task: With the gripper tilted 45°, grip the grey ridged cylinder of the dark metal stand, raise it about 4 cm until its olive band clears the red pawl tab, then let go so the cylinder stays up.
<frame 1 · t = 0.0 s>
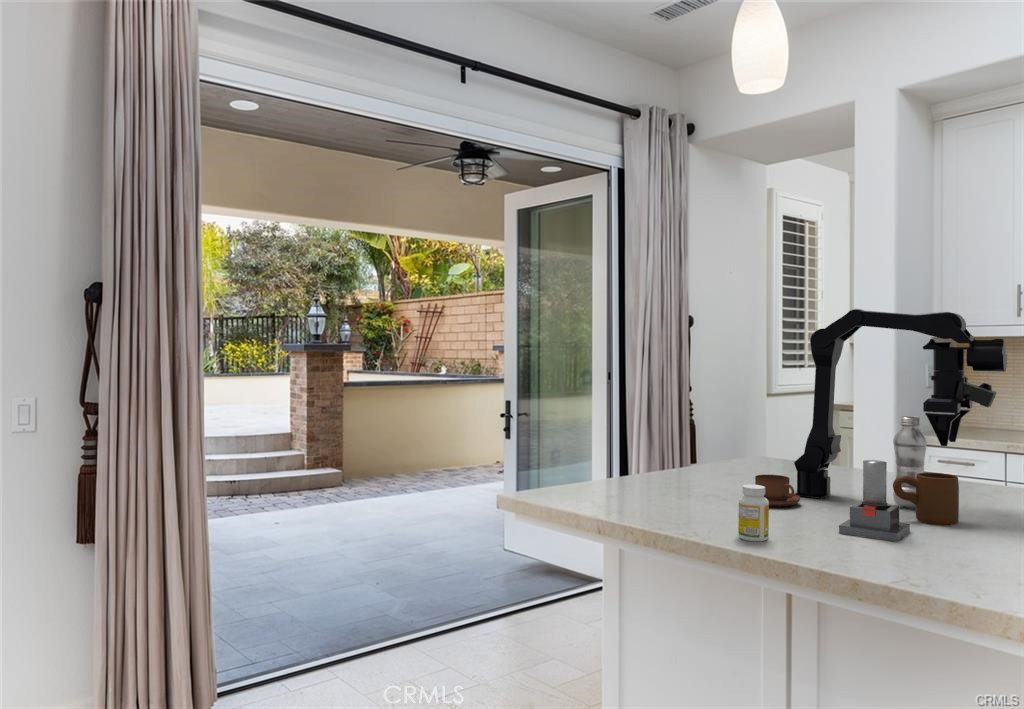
hand: (948, 443, 160), 15 cm above the countertop, tool pointing down, fingers open, 9 cm apart
stand sleeve: (874, 532, 142), on the countertop
plastic bottle: (910, 508, 164), on the countertop
cup and saucer: (772, 505, 169), on the countertop
grey ridged cylinder: (874, 492, 142), point 8 cm above the countertop, slide at 0.0 cm
supplement bottle: (753, 539, 138), on the countertop
mug: (924, 522, 152), on the countertop
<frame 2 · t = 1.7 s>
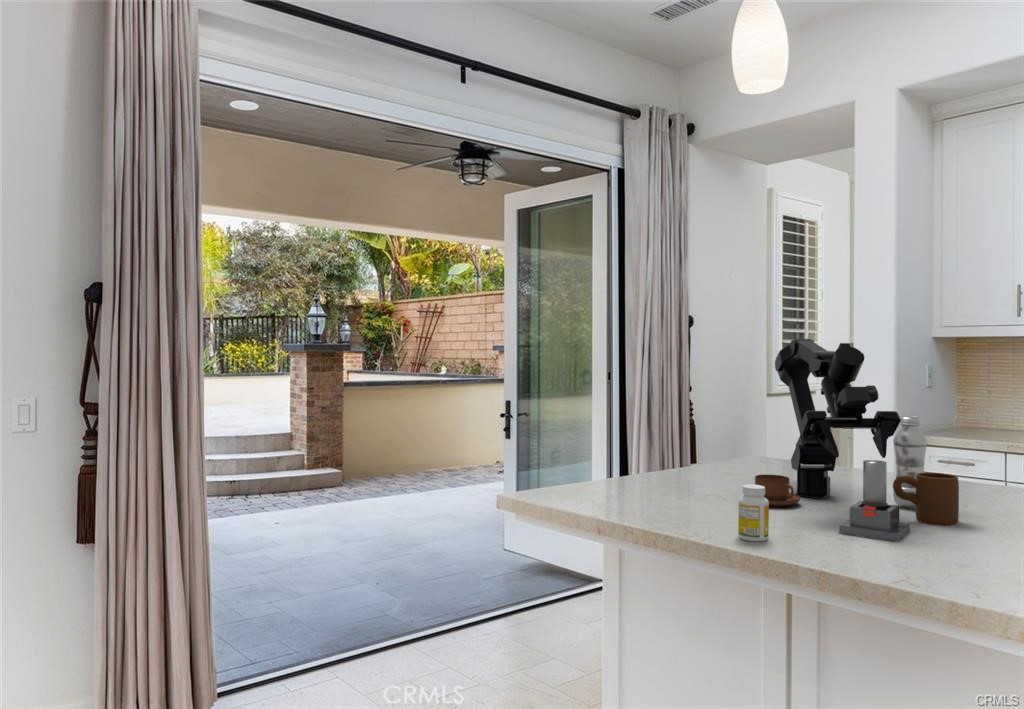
hand: (860, 456, 150), 13 cm above the countertop, tool tilted 45°, fingers open, 9 cm apart
nothing on the countertop moved.
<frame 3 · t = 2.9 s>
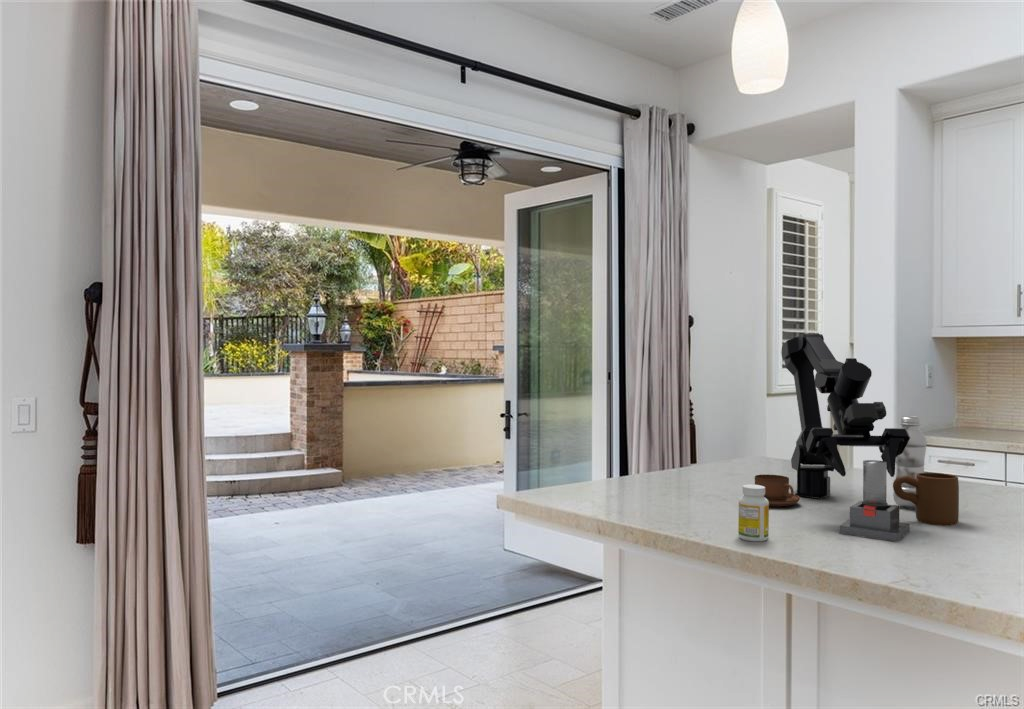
hand: (868, 475, 145), 10 cm above the countertop, tool tilted 45°, fingers open, 9 cm apart
nothing on the countertop moved.
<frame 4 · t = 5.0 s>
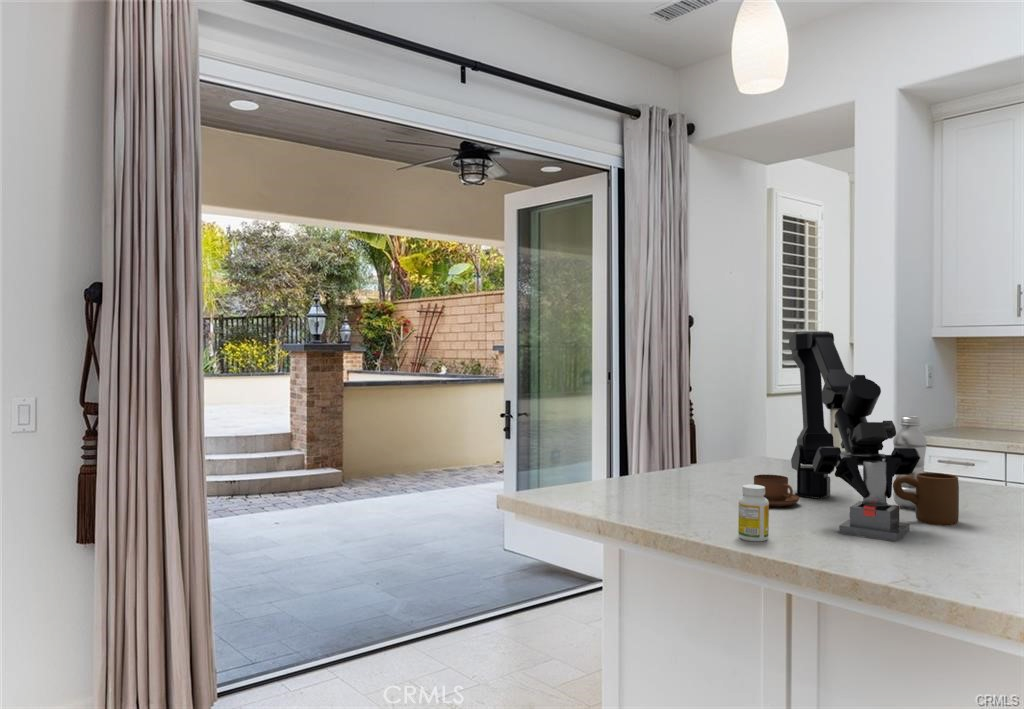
hand: (877, 496, 141), 7 cm above the countertop, tool tilted 45°, fingers closed on grey ridged cylinder, 4 cm apart
grey ridged cylinder: (874, 492, 142), point 8 cm above the countertop, slide at 0.0 cm, touching gripper
everything else where it was.
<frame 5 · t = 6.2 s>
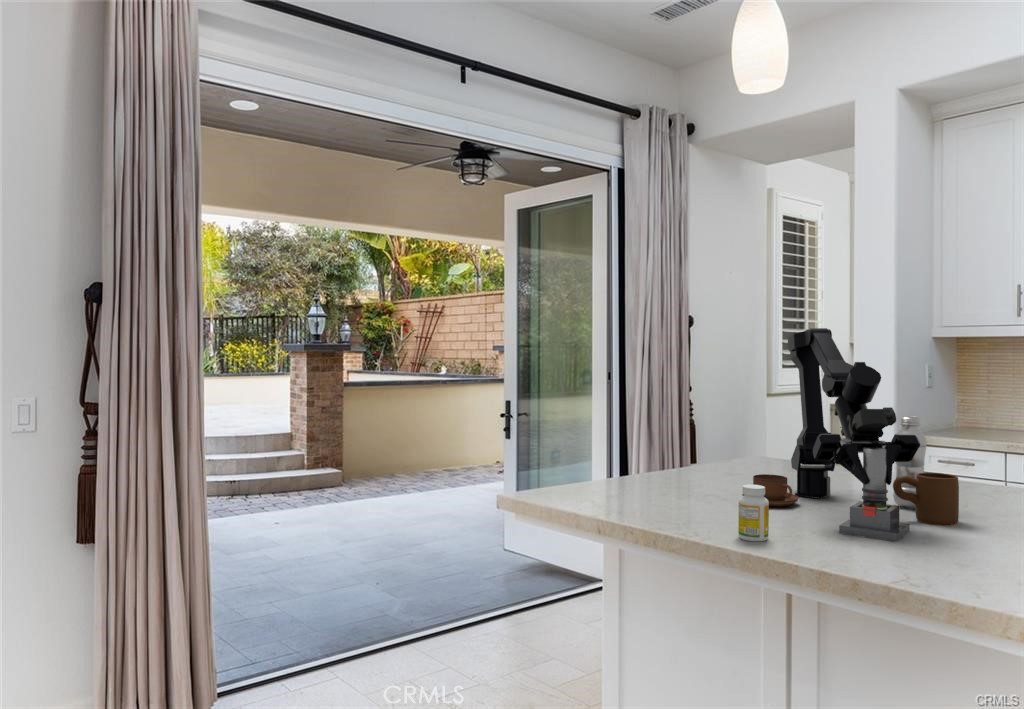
hand: (877, 483, 141), 10 cm above the countertop, tool tilted 45°, fingers closed on grey ridged cylinder, 4 cm apart
grey ridged cylinder: (874, 479, 142), point 10 cm above the countertop, slide at 2.5 cm, touching gripper
everything else where it was.
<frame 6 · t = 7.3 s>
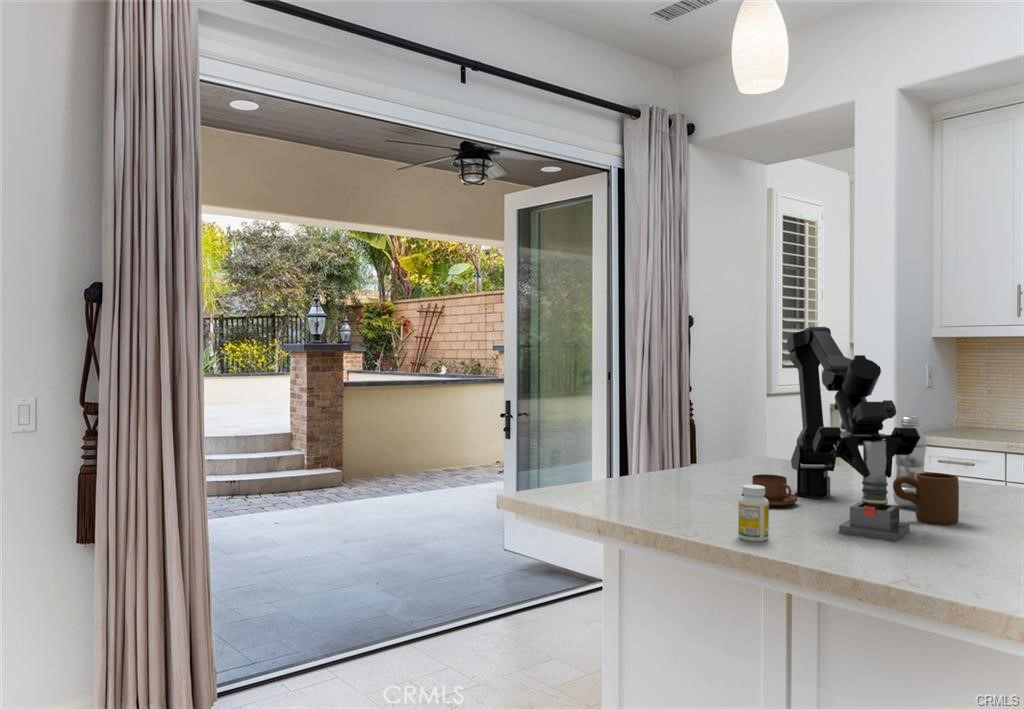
hand: (877, 476, 141), 11 cm above the countertop, tool tilted 45°, fingers closed on grey ridged cylinder, 4 cm apart
grey ridged cylinder: (874, 472, 142), point 11 cm above the countertop, slide at 3.9 cm, touching gripper
everything else where it was.
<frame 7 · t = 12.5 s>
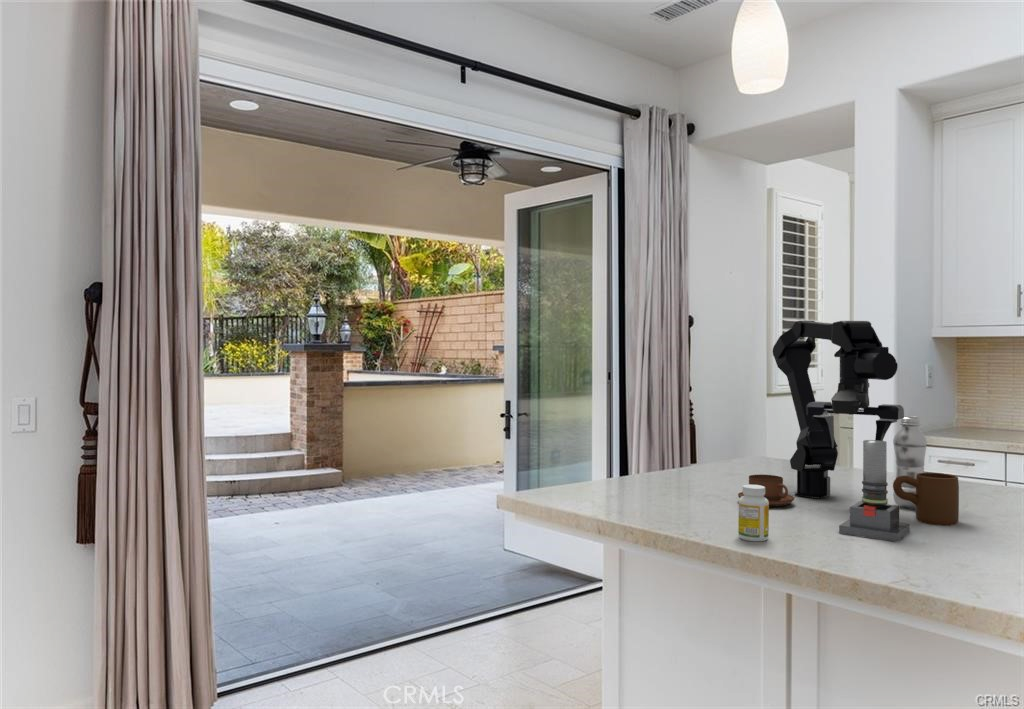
hand: (853, 449, 162), 13 cm above the countertop, tool pointing down, fingers open, 9 cm apart
grey ridged cylinder: (874, 472, 142), point 11 cm above the countertop, slide at 3.9 cm
at the end: grey ridged cylinder slide at 3.9 cm; the gripper is holding nothing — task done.
